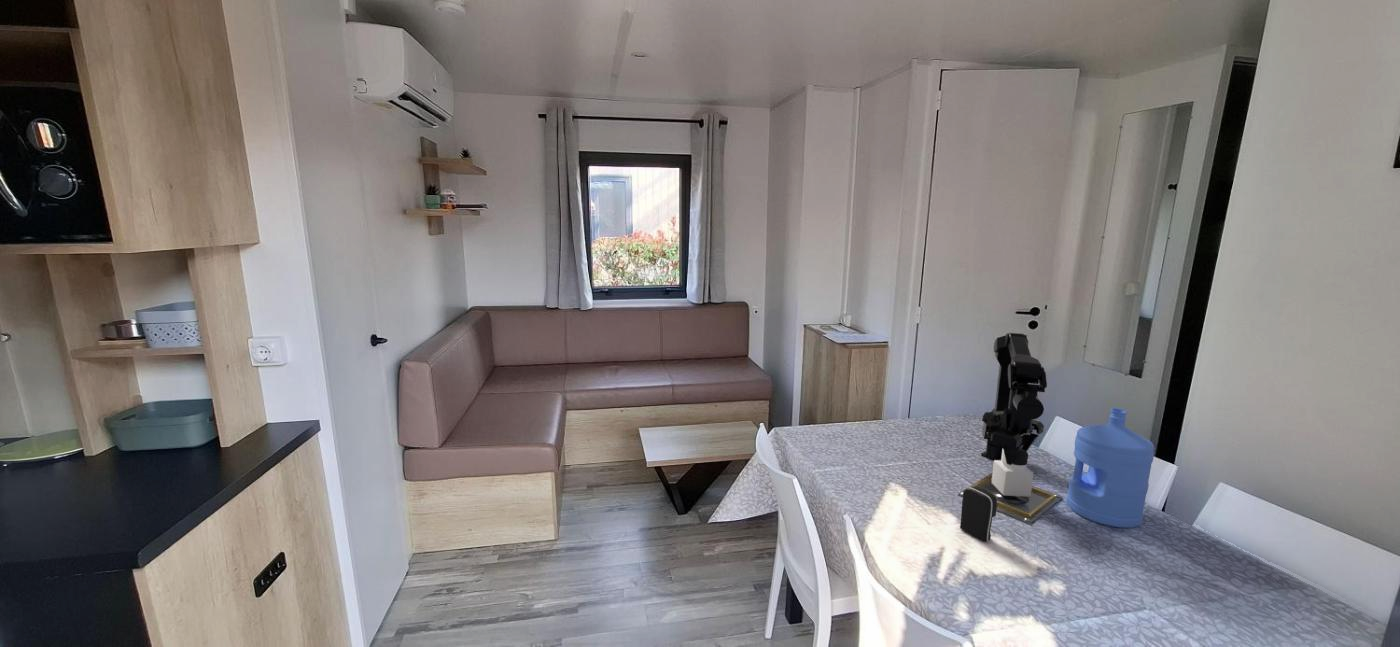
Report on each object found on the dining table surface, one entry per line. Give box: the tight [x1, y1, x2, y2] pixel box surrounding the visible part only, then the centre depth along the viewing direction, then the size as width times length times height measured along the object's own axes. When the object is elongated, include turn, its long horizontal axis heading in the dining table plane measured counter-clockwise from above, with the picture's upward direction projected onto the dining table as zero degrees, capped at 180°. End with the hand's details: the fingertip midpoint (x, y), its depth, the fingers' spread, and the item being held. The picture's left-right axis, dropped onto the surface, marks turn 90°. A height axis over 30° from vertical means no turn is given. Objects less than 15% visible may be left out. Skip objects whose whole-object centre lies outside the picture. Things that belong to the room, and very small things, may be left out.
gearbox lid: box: [957, 472, 1063, 525], centre depth 140 cm, size 22×18×1 cm
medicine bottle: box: [992, 449, 1034, 497], centre depth 138 cm, size 7×7×12 cm
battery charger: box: [959, 486, 997, 543], centre depth 121 cm, size 7×4×11 cm, turn 28°
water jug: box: [1066, 408, 1155, 529], centre depth 130 cm, size 16×16×28 cm
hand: (1014, 461), depth 138 cm, fingers closed on medicine bottle, 6 cm apart
